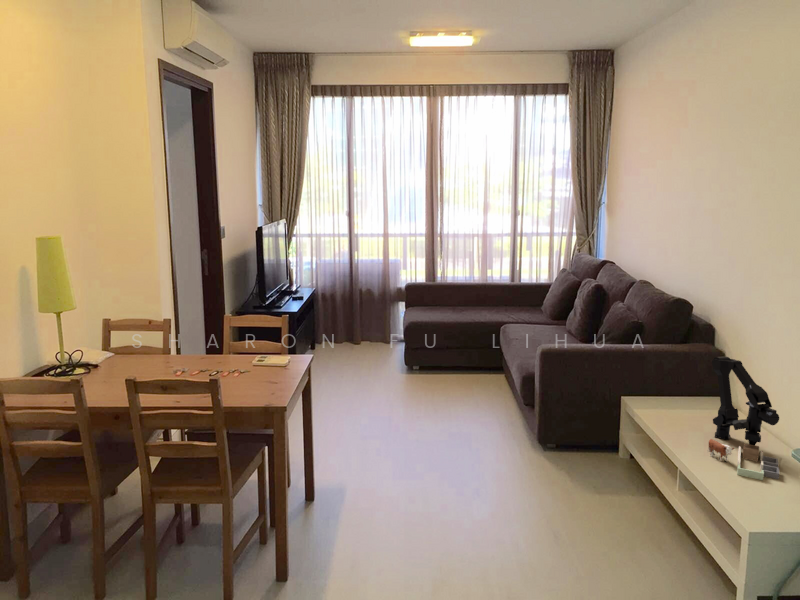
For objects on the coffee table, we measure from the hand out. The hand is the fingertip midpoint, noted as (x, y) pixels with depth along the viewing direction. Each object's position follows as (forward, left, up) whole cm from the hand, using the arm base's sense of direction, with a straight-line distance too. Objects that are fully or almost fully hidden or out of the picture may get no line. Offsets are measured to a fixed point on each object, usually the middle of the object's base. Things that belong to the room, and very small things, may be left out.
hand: (750, 448), depth 292 cm
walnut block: (+6, 0, -2) cm, 7 cm away
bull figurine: (+16, -12, -2) cm, 20 cm away
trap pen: (+16, +3, -2) cm, 16 cm away
